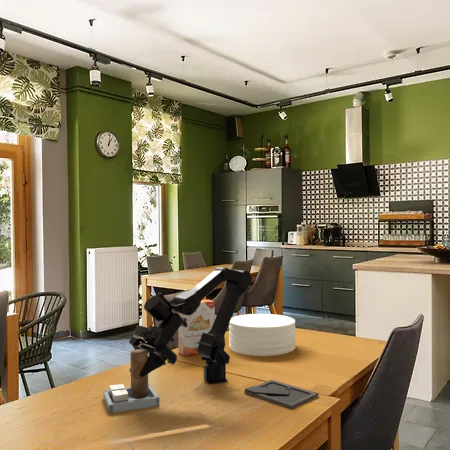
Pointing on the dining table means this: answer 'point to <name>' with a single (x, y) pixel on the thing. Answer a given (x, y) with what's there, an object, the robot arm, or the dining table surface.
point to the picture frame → (281, 394)
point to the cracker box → (196, 327)
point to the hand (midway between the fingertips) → (135, 374)
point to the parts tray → (132, 401)
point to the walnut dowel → (138, 383)
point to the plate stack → (262, 334)
